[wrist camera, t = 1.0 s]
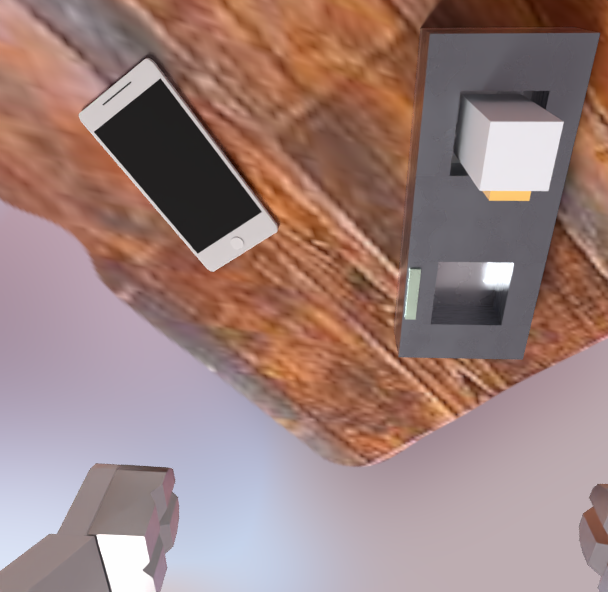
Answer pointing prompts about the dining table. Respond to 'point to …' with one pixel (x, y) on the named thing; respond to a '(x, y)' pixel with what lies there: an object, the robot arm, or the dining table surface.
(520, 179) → the plug
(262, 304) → the dining table surface
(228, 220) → the smartphone
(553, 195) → the panel
